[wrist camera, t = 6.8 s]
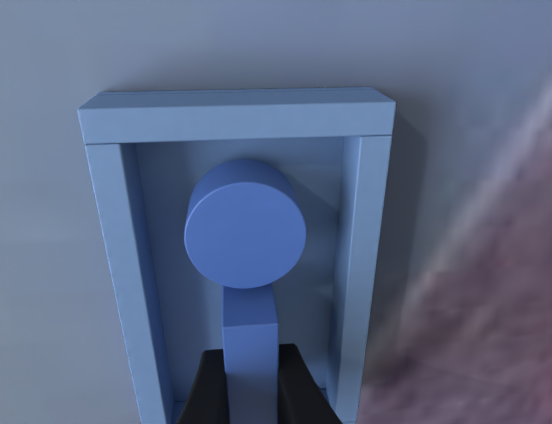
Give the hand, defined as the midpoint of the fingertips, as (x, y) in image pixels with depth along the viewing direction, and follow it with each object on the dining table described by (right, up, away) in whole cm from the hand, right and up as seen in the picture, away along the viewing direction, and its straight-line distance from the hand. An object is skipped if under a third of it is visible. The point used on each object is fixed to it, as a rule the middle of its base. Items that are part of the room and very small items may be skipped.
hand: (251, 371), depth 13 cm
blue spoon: (0, +2, 0) cm, 2 cm away
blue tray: (0, +3, +1) cm, 3 cm away
